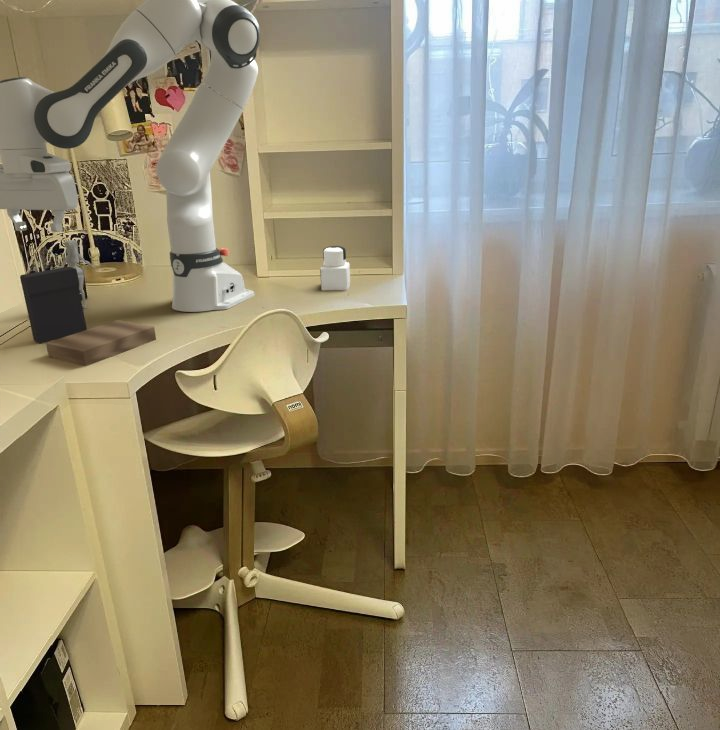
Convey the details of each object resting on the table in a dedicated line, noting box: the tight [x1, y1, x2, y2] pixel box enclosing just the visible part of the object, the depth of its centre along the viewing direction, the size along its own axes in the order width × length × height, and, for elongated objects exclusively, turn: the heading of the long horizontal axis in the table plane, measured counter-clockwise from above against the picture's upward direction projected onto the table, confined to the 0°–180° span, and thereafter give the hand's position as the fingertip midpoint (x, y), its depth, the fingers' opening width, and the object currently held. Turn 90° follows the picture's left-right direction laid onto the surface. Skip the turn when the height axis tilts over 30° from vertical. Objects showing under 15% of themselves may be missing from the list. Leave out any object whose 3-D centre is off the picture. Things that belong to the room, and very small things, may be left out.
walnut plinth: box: [45, 319, 157, 367], centre depth 140 cm, size 18×12×3 cm, turn 149°
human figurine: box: [58, 239, 100, 310], centre depth 167 cm, size 12×4×18 cm, turn 139°
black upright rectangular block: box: [19, 266, 88, 344], centre depth 147 cm, size 11×4×15 cm, turn 136°
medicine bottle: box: [319, 245, 351, 291], centre depth 178 cm, size 7×7×12 cm
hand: (39, 231), depth 141 cm, fingers open, 8 cm apart
